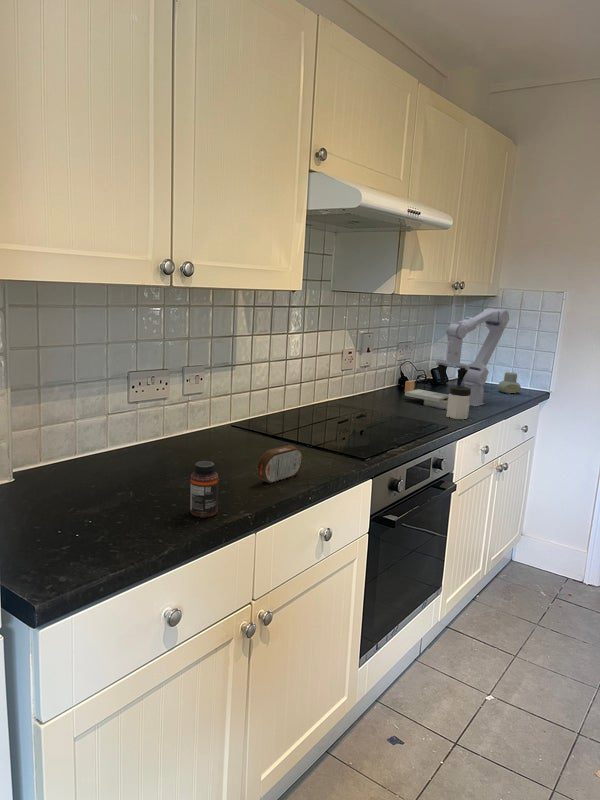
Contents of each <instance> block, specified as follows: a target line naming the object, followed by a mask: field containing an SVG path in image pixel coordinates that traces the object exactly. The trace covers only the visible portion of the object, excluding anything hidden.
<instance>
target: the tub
mask: <svg viewBox="0 0 600 800" xmlns="http://www.w3.org/2000/svg"><path fill="white" fill-rule="evenodd" d="M423 406H425V407H429V408H430V407H431V408H434V407H435V408H434V409H440V410H444V409H445V410H446V411H447V406H448V398H446V399H442V400H440V402H436V401H430V400H425V399H423Z"/></svg>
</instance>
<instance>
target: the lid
mask: <svg viewBox="0 0 600 800" xmlns="http://www.w3.org/2000/svg"><path fill="white" fill-rule="evenodd" d="M404 396H405V397H411V398H416V399H420V400H424V399H425V400H430V401H436V402H440V400H442V399H446V398H448V397H449V394H446V393H440V392H435V391H430V390H424V389H419V388H417V389H415V380H405V384H404Z"/></svg>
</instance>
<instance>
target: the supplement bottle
mask: <svg viewBox="0 0 600 800" xmlns="http://www.w3.org/2000/svg"><path fill="white" fill-rule="evenodd" d="M194 465H195V466H194V471H193V472H192V473H191V475H190V491H189V492H190V494H189V495H190V499H189V500H190V501H189V505H190V507H189V512H190V514H191V515H192V516H194V517H197V518H211V517H213V516H215V515H216V514H217V513H218V510H219V509H218V508H219V507H218V506H219V474H218V472H216V471H215V463H214V462H212V461H208V460H202V461H200V460H199V461H197V462H195V464H194Z"/></svg>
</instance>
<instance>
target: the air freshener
mask: <svg viewBox="0 0 600 800" xmlns="http://www.w3.org/2000/svg"><path fill="white" fill-rule="evenodd" d="M517 378H518V374H517V373H515V372H509V371H507V372H505V373H504V377H503V380H502V381H500V382H499V383H498V384H497V389H498V390H499V391H500V392H502V393H504V392H505V394H507V393H514V394H517V393H519V392H520V391H521V387H522V386H521V384H520V383H519V382H517V380H518V379H517Z"/></svg>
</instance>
